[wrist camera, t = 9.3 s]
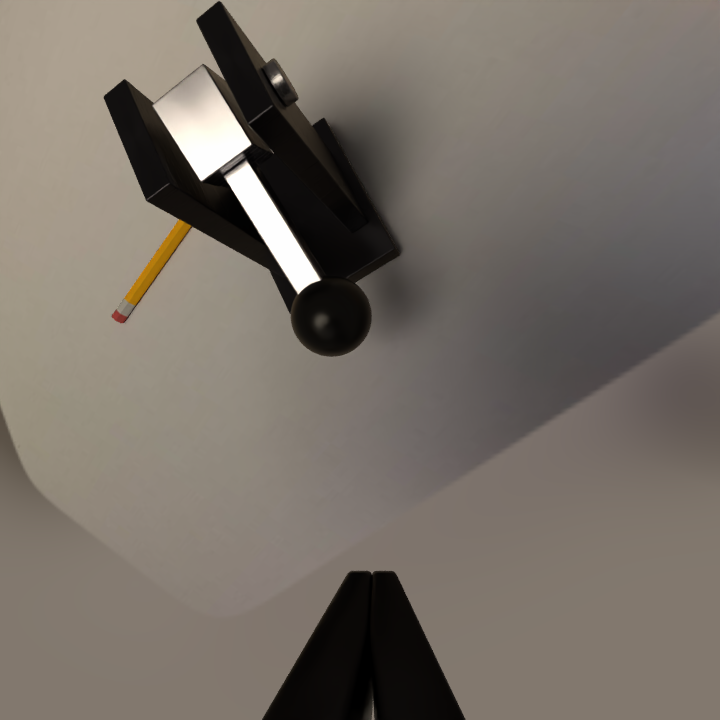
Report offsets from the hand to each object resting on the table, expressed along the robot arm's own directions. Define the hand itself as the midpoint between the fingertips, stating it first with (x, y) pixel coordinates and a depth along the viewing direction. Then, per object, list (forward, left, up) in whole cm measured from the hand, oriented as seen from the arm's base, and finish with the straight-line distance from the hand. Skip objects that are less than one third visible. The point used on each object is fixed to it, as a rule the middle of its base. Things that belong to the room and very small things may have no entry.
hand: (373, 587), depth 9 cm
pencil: (+17, +11, -14) cm, 24 cm away
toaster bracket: (+14, +4, -13) cm, 20 cm away
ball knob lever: (+11, +3, -8) cm, 14 cm away
